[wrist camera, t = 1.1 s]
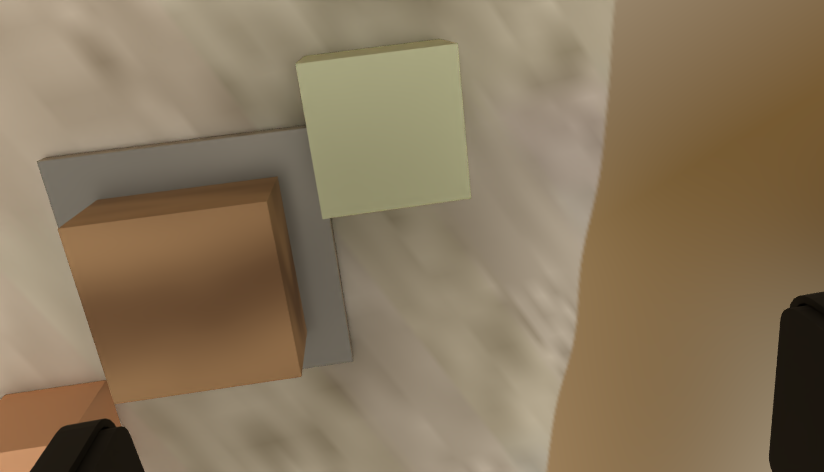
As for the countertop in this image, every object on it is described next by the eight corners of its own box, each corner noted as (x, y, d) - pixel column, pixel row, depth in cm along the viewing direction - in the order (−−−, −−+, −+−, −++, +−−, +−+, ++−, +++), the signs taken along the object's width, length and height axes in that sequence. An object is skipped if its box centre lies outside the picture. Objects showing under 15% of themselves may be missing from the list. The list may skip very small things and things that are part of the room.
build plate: (352, 353, 32) (352, 361, 31) (118, 387, 32) (113, 396, 31) (315, 124, 28) (314, 126, 27) (45, 157, 27) (36, 161, 27)
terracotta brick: (132, 458, 33) (97, 531, 29) (37, 473, 33) (-15, 549, 28) (106, 379, 31) (65, 443, 27) (5, 394, 31) (-55, 461, 27)
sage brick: (451, 169, 30) (471, 198, 25) (326, 186, 29) (322, 219, 25) (439, 38, 28) (457, 43, 23) (304, 55, 27) (295, 64, 23)
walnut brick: (307, 332, 31) (301, 376, 27) (143, 356, 30) (114, 404, 26) (277, 176, 28) (266, 201, 24) (97, 199, 27) (57, 228, 24)
